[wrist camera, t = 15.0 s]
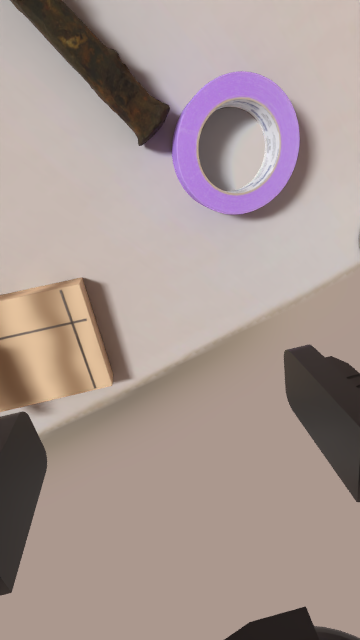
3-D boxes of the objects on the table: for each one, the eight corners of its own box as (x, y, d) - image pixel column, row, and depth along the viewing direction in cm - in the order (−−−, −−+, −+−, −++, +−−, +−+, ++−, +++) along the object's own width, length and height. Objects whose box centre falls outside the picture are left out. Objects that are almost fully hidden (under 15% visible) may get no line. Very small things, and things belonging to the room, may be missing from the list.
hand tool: (170, 117, 32) (176, 107, 28) (141, 149, 32) (143, 145, 28) (-8, -96, 25) (-36, -153, 20) (-39, -48, 25) (-73, -94, 21)
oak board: (82, 277, 36) (78, 284, 34) (113, 374, 42) (112, 385, 39) (-103, 317, 35) (-119, 327, 33) (-46, 411, 41) (-57, 425, 38)
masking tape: (263, 220, 37) (277, 225, 33) (162, 198, 35) (165, 201, 31) (298, 100, 33) (318, 91, 29) (185, 66, 30) (192, 52, 27)
